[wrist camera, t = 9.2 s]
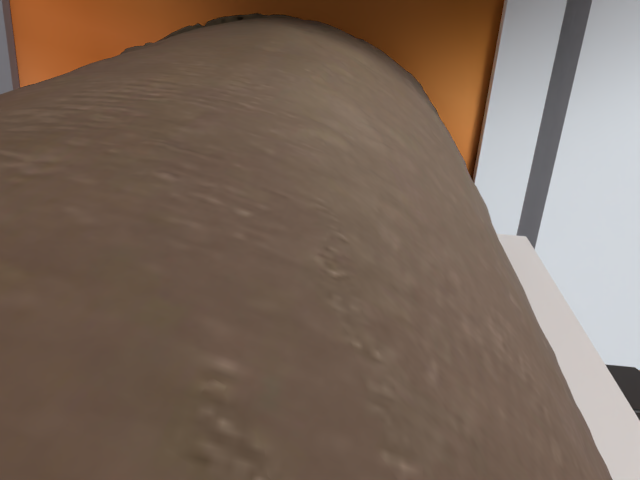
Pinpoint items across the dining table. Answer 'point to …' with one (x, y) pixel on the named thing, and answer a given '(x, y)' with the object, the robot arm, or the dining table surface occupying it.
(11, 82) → the ring
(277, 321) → the pillar candle
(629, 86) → the pad one
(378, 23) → the dining table surface
